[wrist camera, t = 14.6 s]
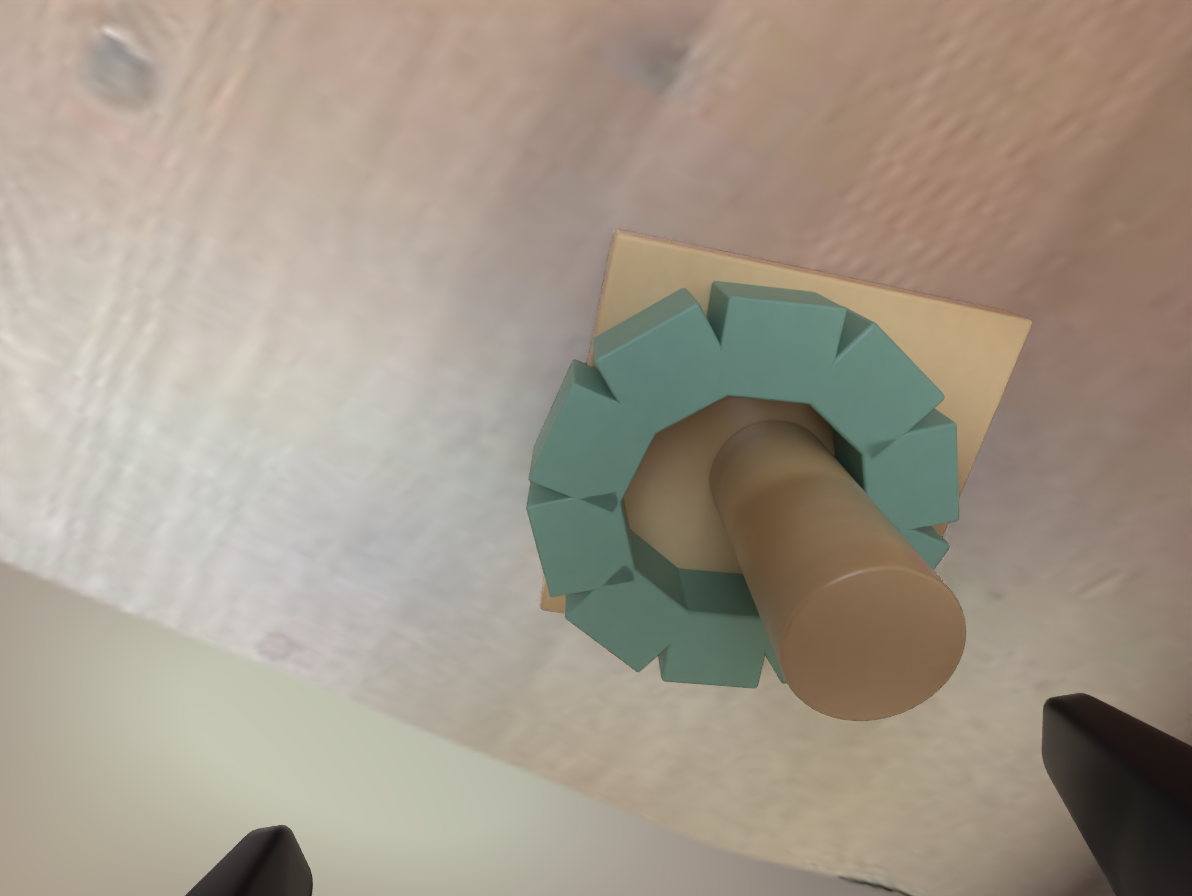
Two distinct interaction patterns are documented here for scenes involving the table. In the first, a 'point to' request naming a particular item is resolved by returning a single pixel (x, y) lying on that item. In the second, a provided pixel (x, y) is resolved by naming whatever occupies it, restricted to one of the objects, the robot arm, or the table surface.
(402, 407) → the table surface
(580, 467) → the ring
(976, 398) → the post
